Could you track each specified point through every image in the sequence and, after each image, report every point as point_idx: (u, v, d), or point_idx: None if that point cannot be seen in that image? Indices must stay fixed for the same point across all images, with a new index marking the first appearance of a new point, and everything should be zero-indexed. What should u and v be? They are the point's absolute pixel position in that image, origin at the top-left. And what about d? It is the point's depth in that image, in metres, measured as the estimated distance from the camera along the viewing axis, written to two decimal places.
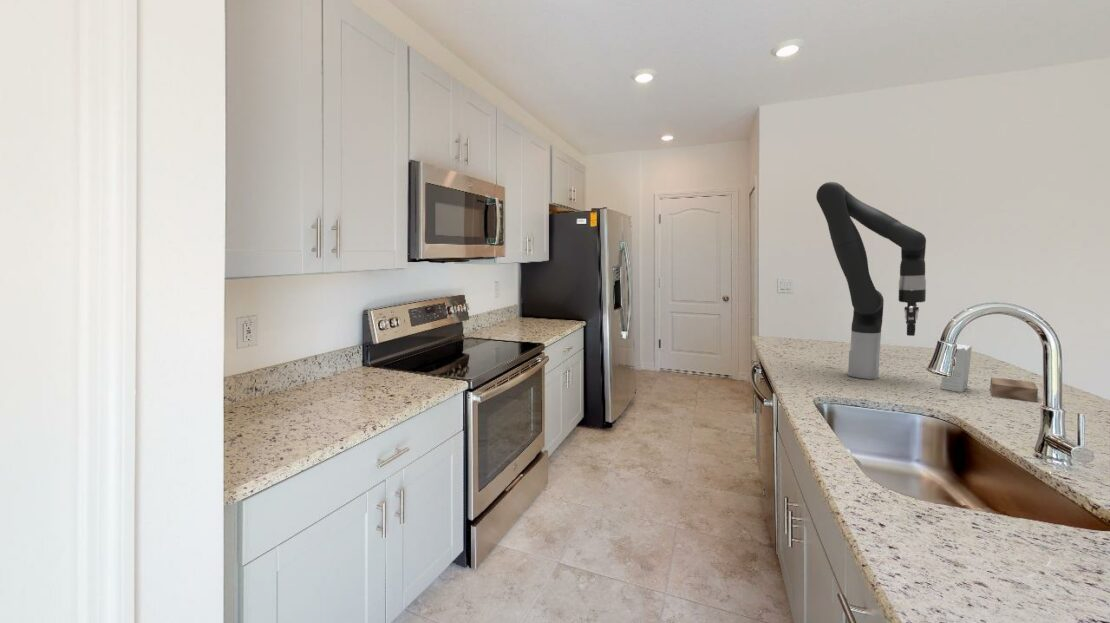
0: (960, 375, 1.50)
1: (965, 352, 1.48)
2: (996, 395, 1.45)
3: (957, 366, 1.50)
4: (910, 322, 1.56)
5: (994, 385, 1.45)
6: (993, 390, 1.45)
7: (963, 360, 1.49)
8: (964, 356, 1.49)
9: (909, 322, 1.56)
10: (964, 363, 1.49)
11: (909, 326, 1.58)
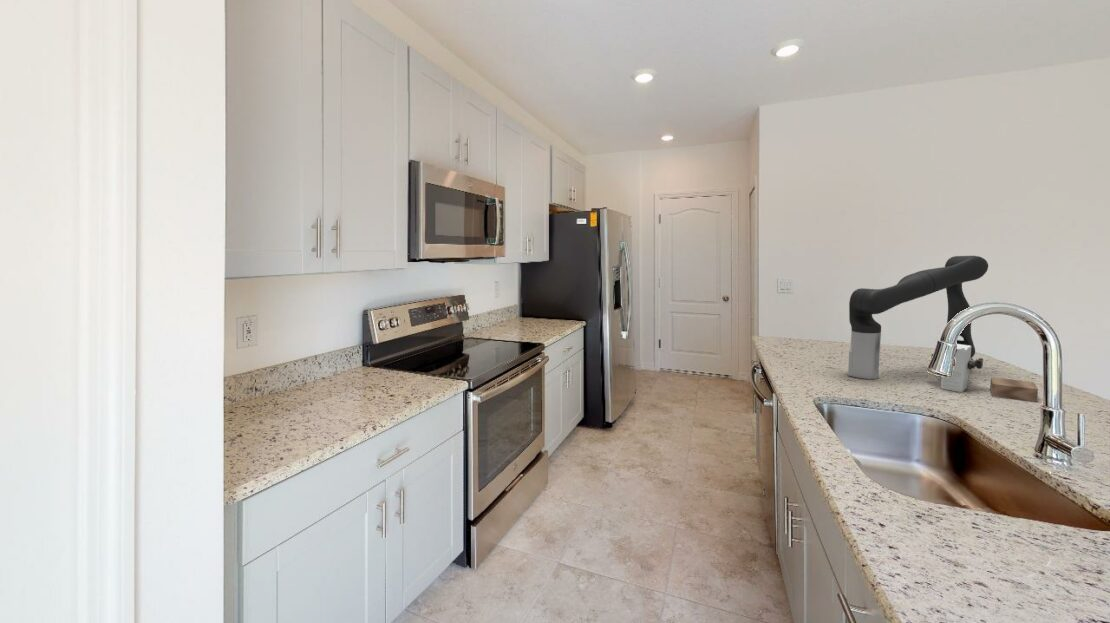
0: (960, 375, 1.50)
1: (965, 352, 1.48)
2: (996, 395, 1.45)
3: (957, 366, 1.50)
4: (981, 364, 1.51)
5: (994, 385, 1.45)
6: (993, 390, 1.45)
7: (963, 360, 1.49)
8: (964, 356, 1.49)
9: (981, 363, 1.51)
10: (964, 363, 1.49)
11: None
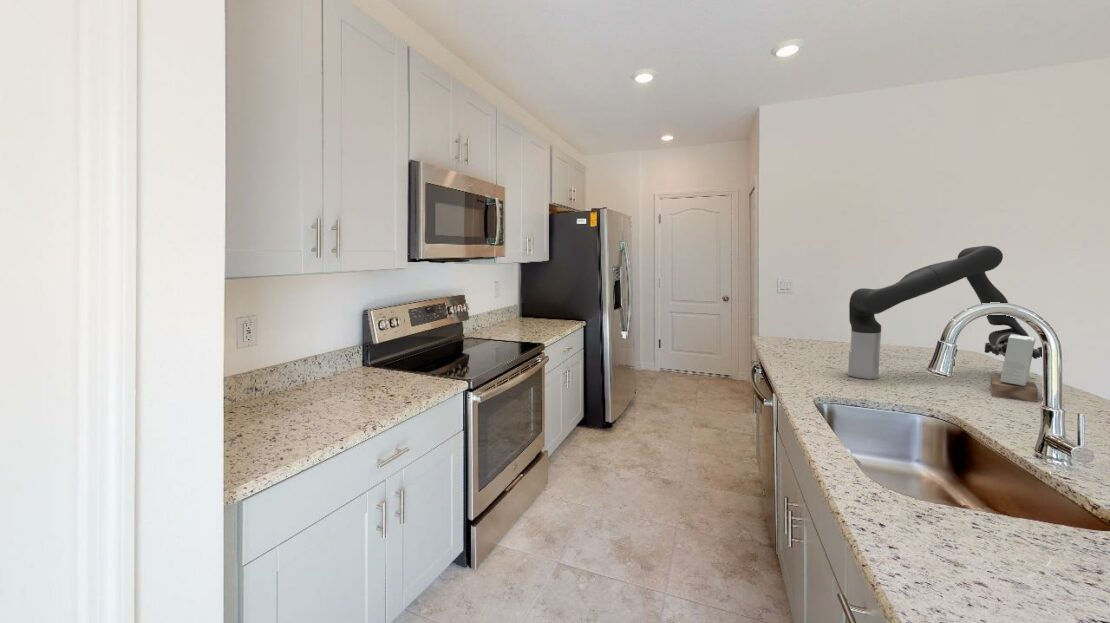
0: (1024, 368, 1.41)
1: (1032, 343, 1.39)
2: (996, 395, 1.45)
3: (1021, 358, 1.41)
4: None
5: (994, 385, 1.45)
6: (993, 390, 1.45)
7: (1029, 351, 1.40)
8: (1030, 347, 1.40)
9: None
10: (1030, 355, 1.40)
11: None
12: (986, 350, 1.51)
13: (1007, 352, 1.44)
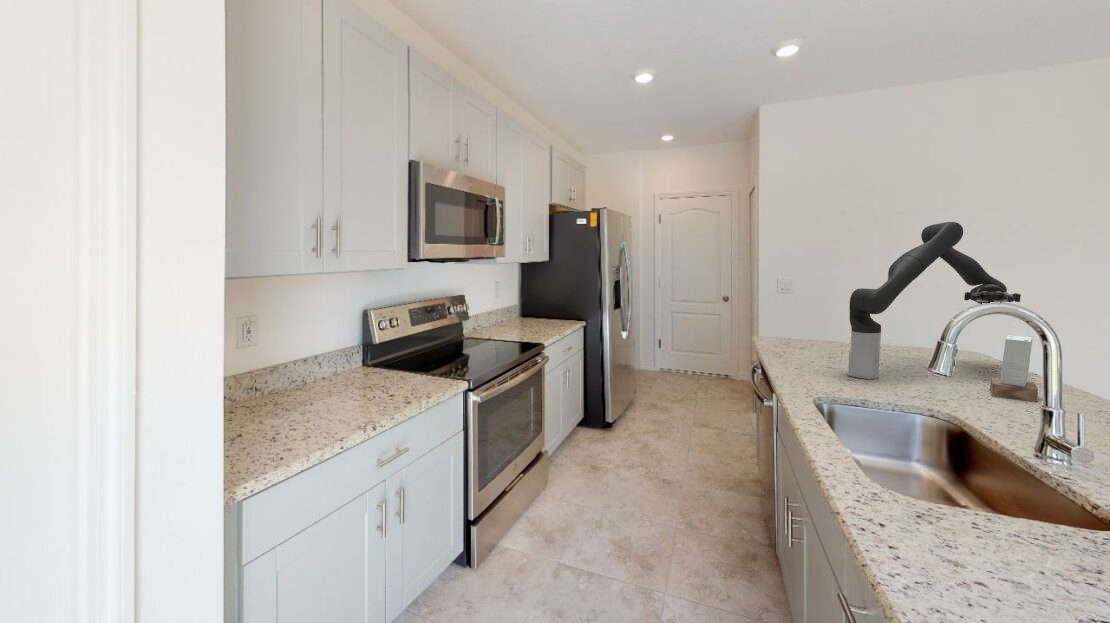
0: (1022, 369, 1.41)
1: (1029, 344, 1.39)
2: (996, 395, 1.45)
3: (1019, 359, 1.41)
4: (1019, 297, 1.55)
5: (994, 385, 1.45)
6: (993, 390, 1.45)
7: (1026, 352, 1.40)
8: (1027, 348, 1.40)
9: None
10: (1027, 356, 1.40)
11: None
12: (965, 298, 1.63)
13: (1005, 354, 1.44)
